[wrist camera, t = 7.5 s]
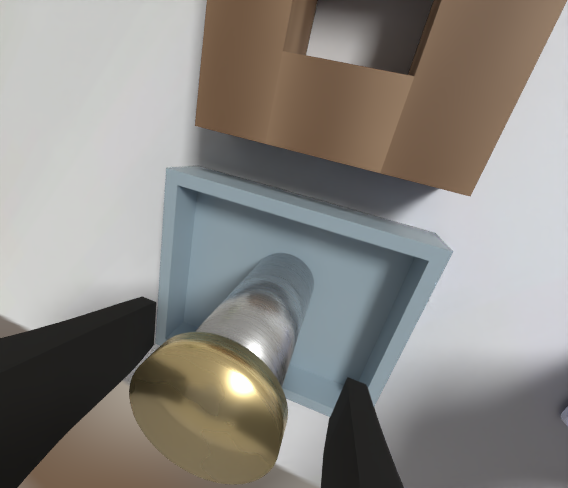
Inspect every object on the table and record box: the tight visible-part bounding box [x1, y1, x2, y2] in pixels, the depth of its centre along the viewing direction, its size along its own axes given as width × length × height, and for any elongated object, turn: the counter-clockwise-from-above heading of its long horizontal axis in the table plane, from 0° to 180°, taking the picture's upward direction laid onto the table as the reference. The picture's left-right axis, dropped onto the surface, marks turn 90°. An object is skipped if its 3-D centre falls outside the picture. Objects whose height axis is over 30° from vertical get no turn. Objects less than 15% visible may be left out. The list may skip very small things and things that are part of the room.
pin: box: [129, 253, 314, 484], centre depth 10 cm, size 4×4×8 cm
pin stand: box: [195, 0, 567, 196], centre depth 9 cm, size 10×10×3 cm
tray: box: [155, 166, 453, 417], centre depth 14 cm, size 12×10×2 cm
